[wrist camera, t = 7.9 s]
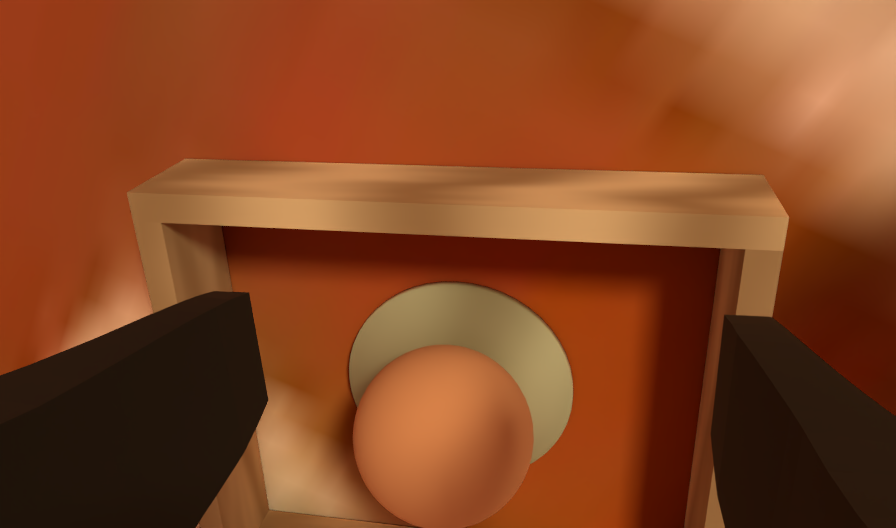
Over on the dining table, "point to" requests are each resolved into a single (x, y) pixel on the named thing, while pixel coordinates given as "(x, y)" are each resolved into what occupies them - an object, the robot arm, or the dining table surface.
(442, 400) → the ball
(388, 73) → the dining table surface
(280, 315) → the dining table surface
